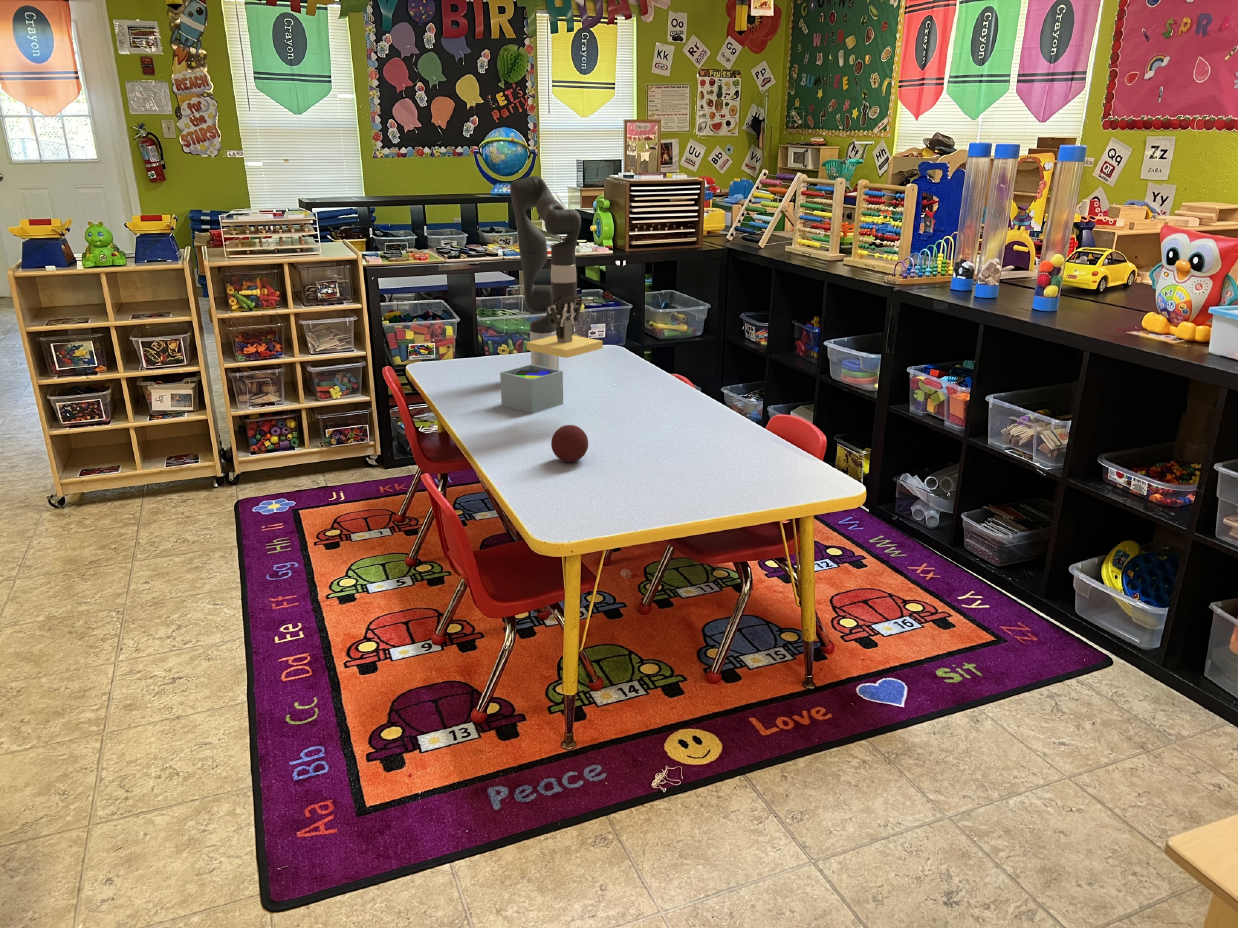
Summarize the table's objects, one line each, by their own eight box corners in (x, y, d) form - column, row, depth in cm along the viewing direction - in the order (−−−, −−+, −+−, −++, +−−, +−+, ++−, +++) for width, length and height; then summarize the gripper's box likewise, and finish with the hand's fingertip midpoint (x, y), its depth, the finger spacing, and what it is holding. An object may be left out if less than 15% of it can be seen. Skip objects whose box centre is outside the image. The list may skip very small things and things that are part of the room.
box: (532, 396, 302) (531, 364, 299) (563, 403, 294) (562, 371, 290) (501, 405, 292) (500, 372, 288) (532, 413, 284) (531, 379, 280)
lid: (563, 340, 282) (562, 313, 279) (602, 348, 273) (602, 319, 270) (526, 349, 271) (525, 320, 268) (566, 358, 261) (566, 328, 258)
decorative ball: (595, 463, 241) (595, 427, 238) (562, 469, 236) (562, 433, 233) (577, 452, 249) (576, 418, 246) (545, 458, 244) (544, 423, 241)
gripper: (570, 275, 272) (571, 332, 278) (537, 281, 262) (539, 339, 268) (589, 278, 267) (589, 335, 273) (556, 284, 257) (557, 343, 263)
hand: (564, 337), depth 270 cm, fingers closed on lid, 3 cm apart
